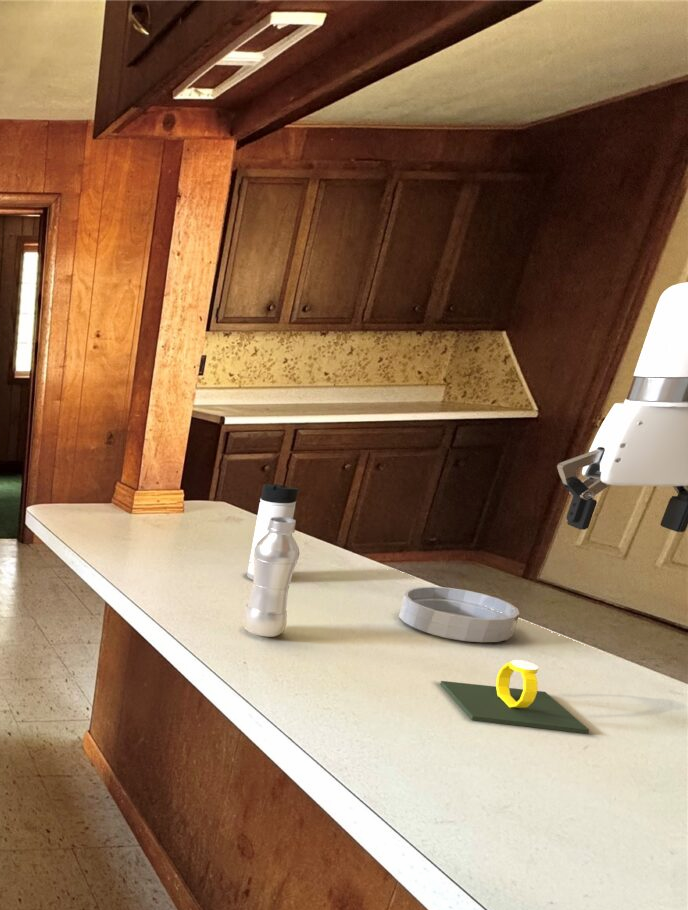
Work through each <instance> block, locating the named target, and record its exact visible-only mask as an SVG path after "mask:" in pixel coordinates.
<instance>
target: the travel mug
mask: <svg viewBox="0 0 688 910" xmlns="http://www.w3.org/2000/svg"><path fill="white" fill-rule="evenodd" d="M298 493H299V488H298V487H296V486H295V487H291V486H290V487H289V486H286V485H284V484H277V483H263V485H262V491H261V496H260V498H259V501H260V502H259V505H258V509H257V510H258V511H257V516H256V520H255V521H256V522H255V528H254V534H253V538H252V544H251V551H250V556H249V561H248V568H247V572H246V576H247V578H248V579H250V580H251V581H253V575H254V550H255V547H256V545H257V543H258V542H259V541H260V540H261V539H262V538H263V537H264V536H265V535H267V534H268V533H269V531H268V530H267V529H268V526H269V522H270V519H271V518H273V517H284V518H290V519H294V514H295V510H296V504H297V496H298Z"/></svg>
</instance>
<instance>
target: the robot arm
mask: <svg viewBox="0 0 688 910" xmlns="http://www.w3.org/2000/svg"><path fill="white" fill-rule="evenodd" d="M646 333H647V334H646V337H645V340H644V342H643V346H642V348H641V351H640V354H639V358H638V360H637V363H636V367H635V370H634V373H633V375H632V378H631V381H630V384H629V386H628V390H627V393H626V396H625V399H624V401H623V402H615V403H614V404H613V406H611V408H610V410H609V412H608V413H607V415H606V416H605V418H604V420H603V422H602V424H601V425H600V427H599V429H598V431H597V433H596V434H595V437H594V439H593V442H592V443H591V446H590V448H589V451H588V452H585V453H583V454H580V455H577V456H575V457H572V458H569V459H566V460H564V461H561V462H559V463H557V465H556V468H557V472H558V475H559V478H560V479H561V480H560V483H561V484H562V485H563V487H565V489H566V490H567V491H568V493H569V495H571V496H572V498H571V502H570V504H569V507H568V511H567V514H566V520H567V522H566V524H567V526H570V527H572V528H575V529H577V530H581V531H582V530H583V531H584V530H588V529H589V527H590V525H591V522H592V519H593V515H594V513H595V509H596V506H597V503H598V501H597V499H595V496H597V495H598V494H600V493H601V492H603V491H604V490H606V489H607V488H608V487H610V486H619V487H626V486H627V487H672V488H673V489H674V490H675V492H676V493H677V495H672V496H671V497H670V498H669V499H668V502H667V505H666V508H665V511H664V513H663V516H662V519H661V521H660V527H662V528H665V529H668V530H671V531H674V532H676V533H684V532H685V531H686V530H687V527H688V281H686V282H680V283H676V284H673V285H671V286H669V287H668V288H667V289H665V290H664V291H663V292H662V293H661V295H660V296H659V299H658V301H657V303H656V307H655V309H654V313H653V316H652V318H651V322H650V325H649V328H648V331H647V332H646ZM580 469H582V471H581V475H582V476H583V477H584V478H583V479H582V480H581V479H580V478H578V471H579V470H580Z"/></svg>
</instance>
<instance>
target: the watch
mask: <svg viewBox="0 0 688 910" xmlns="http://www.w3.org/2000/svg"><path fill="white" fill-rule="evenodd" d="M514 672H516V673H520V674H521V677H522V682H523V683H522V688H523V692H522V695H521V698H520V700H519V701H518V702H516V701H515V700H514V699H513V698H512V697H511V695H510V690H509V688H510V684H511V683H510V682H511V677H512V676H513V673H514ZM538 672H539V666H538V665H536V664H535V663H533V662H530V661H527V660H523V659H512V660H510V662H507V663H505V664H504V665H503V666H502V667H501V668H500V669H499V671H498V673H497V676H496V682H495V687H496V689H497V695H498V696H499V697H500V698H501V699H502V700H503V701H504V702H505V703H506V704H507V705H508V706H509V708H519V709H521V708H527V707H528V706H529V705H530V704H531V703H532V702H533V701H534V699H535V697H536V694H537V691H538V677H537V675H536V674H537V673H538Z"/></svg>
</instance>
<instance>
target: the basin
mask: <svg viewBox="0 0 688 910" xmlns="http://www.w3.org/2000/svg"><path fill="white" fill-rule="evenodd" d="M485 606H487V607H485ZM490 608H492V609H494V610H491V609H490ZM497 611H498V612H497ZM500 612H502V613H500ZM398 617H399V619H400V620H401V621H402V622H403V623H405V624H407V625H408V626H410V627H412V628H414V629H417V630H419V631H421V632H424V633H426V634H429V635H432V636H436V637H438V638H439V637H440V638H445V639H447V640H448V639H449V640H452V641H453V640H454V641H461V642H469V643H499V642H504V641H508V640H509V639H510V638H511V637H513V634H514V631H515V629H516V626H517V623H518V620H519V617H520V610H519V608H518V607H516V606H515V605H514V604H512V603H511V602H508V601H506V600H503V599H502V598H499V597H495V596H493V595H489V594H485V593H482V592H476V591H472V590H469V589H468V590H467V589H461V588H453V587H445V586H444V587H443V586H417V587H413V588H409V589H407V590H405V591H404V592H403V596H402V600H401V603H400V607H399V612H398Z"/></svg>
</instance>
